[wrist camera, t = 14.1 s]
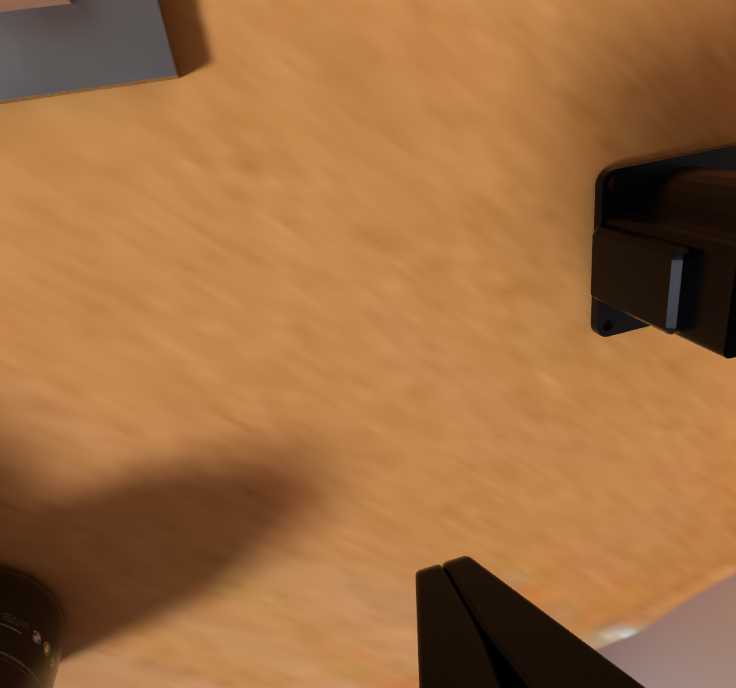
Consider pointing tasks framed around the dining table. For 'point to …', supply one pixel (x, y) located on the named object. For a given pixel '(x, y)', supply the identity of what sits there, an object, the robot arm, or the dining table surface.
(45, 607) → the supplement bottle
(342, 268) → the dining table surface
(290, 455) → the dining table surface
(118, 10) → the base with metal peg
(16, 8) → the square ring with tab
